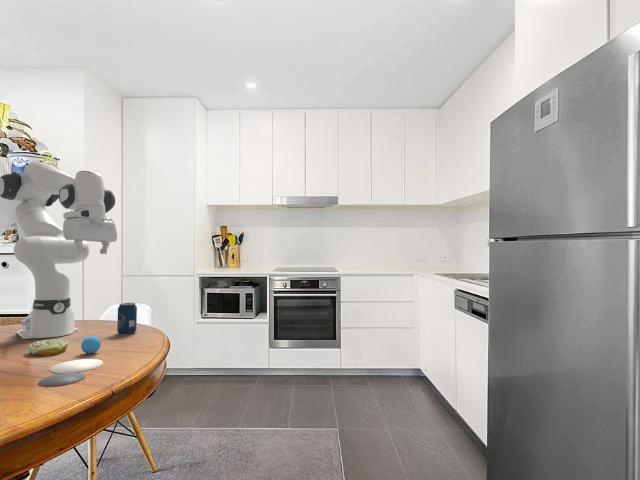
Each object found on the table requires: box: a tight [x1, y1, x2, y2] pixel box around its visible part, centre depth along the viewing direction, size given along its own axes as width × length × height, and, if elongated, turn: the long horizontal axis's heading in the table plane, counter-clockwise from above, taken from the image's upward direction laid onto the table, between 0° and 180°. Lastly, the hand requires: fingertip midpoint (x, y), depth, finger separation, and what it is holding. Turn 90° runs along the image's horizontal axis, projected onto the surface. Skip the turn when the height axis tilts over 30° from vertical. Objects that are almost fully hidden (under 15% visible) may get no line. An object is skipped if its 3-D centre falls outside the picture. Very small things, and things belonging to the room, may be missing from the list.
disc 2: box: [49, 358, 104, 374], centre depth 109 cm, size 13×13×1 cm
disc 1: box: [38, 372, 86, 388], centre depth 97 cm, size 10×10×1 cm
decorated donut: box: [28, 338, 69, 357], centre depth 123 cm, size 10×11×4 cm
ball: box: [80, 335, 102, 355], centre depth 122 cm, size 6×6×6 cm
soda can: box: [116, 302, 138, 336], centre depth 152 cm, size 7×7×12 cm
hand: (93, 253), depth 133 cm, fingers open, 8 cm apart
